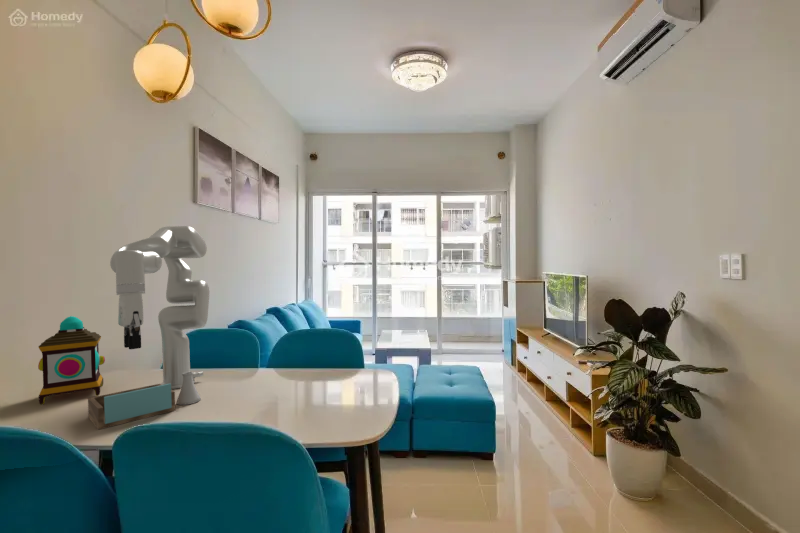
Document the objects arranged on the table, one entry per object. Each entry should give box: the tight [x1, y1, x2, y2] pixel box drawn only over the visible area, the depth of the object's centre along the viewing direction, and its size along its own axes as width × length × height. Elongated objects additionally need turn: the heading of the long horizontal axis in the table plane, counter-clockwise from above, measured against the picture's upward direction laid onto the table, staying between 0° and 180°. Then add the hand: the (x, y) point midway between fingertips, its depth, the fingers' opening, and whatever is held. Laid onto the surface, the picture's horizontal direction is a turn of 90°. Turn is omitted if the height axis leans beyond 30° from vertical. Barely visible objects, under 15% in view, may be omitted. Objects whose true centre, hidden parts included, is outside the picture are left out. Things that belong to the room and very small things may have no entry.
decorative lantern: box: [37, 315, 106, 406], centre depth 154 cm, size 20×20×30 cm
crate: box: [87, 383, 176, 430], centre depth 128 cm, size 20×16×6 cm
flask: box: [175, 371, 202, 406], centre depth 138 cm, size 7×7×10 cm
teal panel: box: [104, 384, 172, 424], centre depth 122 cm, size 17×1×8 cm, turn 136°
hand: (132, 347), depth 127 cm, fingers open, 4 cm apart
